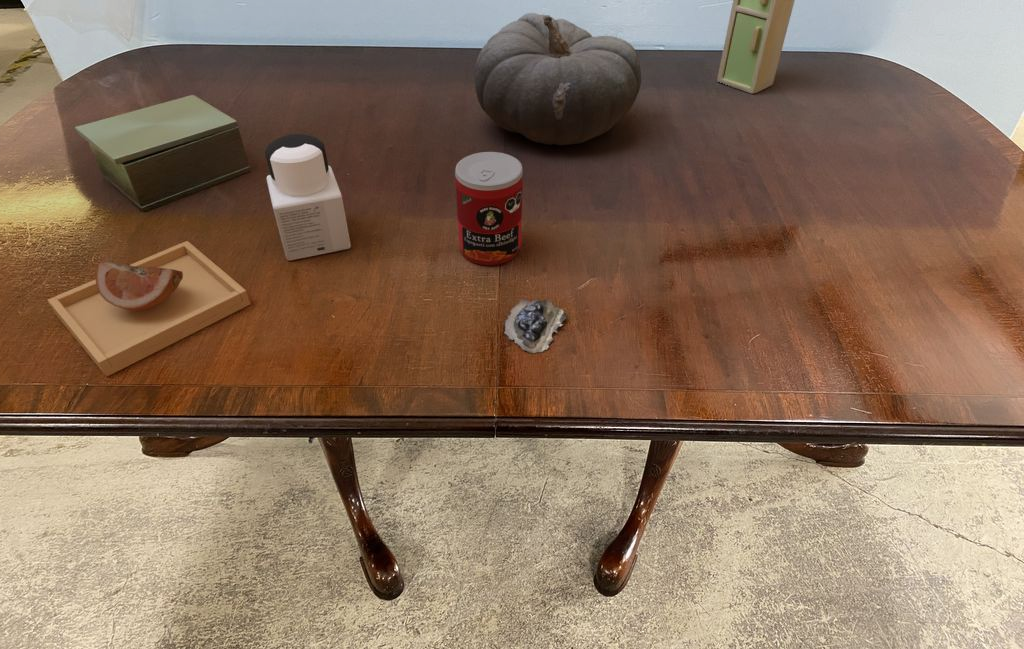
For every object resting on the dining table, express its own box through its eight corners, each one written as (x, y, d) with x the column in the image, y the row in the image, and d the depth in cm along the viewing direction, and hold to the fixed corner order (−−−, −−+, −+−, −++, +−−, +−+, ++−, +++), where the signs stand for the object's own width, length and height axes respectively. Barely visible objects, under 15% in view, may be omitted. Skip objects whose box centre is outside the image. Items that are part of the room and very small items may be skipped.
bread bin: (143, 212, 88) (123, 165, 83) (104, 179, 94) (84, 133, 90) (250, 171, 96) (238, 126, 92) (208, 143, 103) (194, 100, 98)
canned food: (458, 267, 79) (453, 185, 72) (459, 230, 85) (455, 151, 78) (522, 266, 79) (524, 184, 72) (519, 229, 85) (521, 150, 78)
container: (279, 228, 85) (254, 133, 76) (340, 217, 87) (322, 123, 79) (287, 262, 80) (261, 163, 71) (351, 249, 82) (334, 151, 73)
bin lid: (116, 164, 82) (113, 158, 82) (76, 132, 89) (74, 127, 88) (238, 126, 92) (236, 120, 91) (194, 99, 98) (193, 94, 98)
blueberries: (566, 305, 74) (567, 291, 73) (568, 355, 68) (569, 341, 67) (506, 303, 74) (506, 289, 73) (502, 352, 68) (502, 339, 67)
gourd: (505, 68, 119) (519, -33, 106) (638, 110, 116) (669, 12, 103) (448, 140, 104) (456, 33, 90) (600, 192, 100) (631, 88, 87)
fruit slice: (201, 287, 75) (187, 251, 71) (170, 327, 70) (153, 289, 66) (132, 280, 75) (115, 244, 72) (96, 319, 71) (76, 281, 67)
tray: (106, 377, 65) (98, 362, 64) (55, 313, 72) (47, 299, 71) (250, 304, 74) (246, 290, 72) (192, 254, 81) (187, 240, 79)
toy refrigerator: (712, 82, 122) (739, -45, 108) (735, 73, 126) (764, -52, 112) (750, 96, 118) (783, -36, 104) (772, 85, 122) (807, -43, 108)
